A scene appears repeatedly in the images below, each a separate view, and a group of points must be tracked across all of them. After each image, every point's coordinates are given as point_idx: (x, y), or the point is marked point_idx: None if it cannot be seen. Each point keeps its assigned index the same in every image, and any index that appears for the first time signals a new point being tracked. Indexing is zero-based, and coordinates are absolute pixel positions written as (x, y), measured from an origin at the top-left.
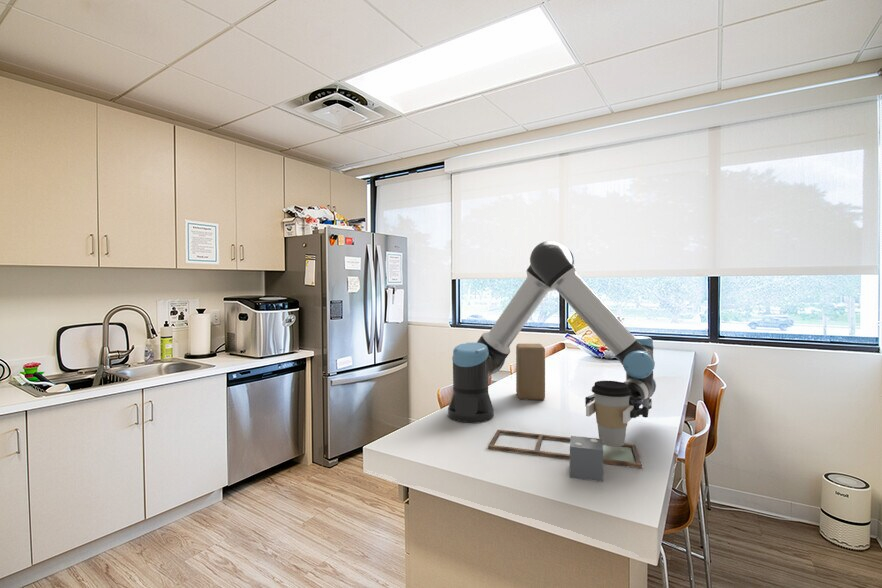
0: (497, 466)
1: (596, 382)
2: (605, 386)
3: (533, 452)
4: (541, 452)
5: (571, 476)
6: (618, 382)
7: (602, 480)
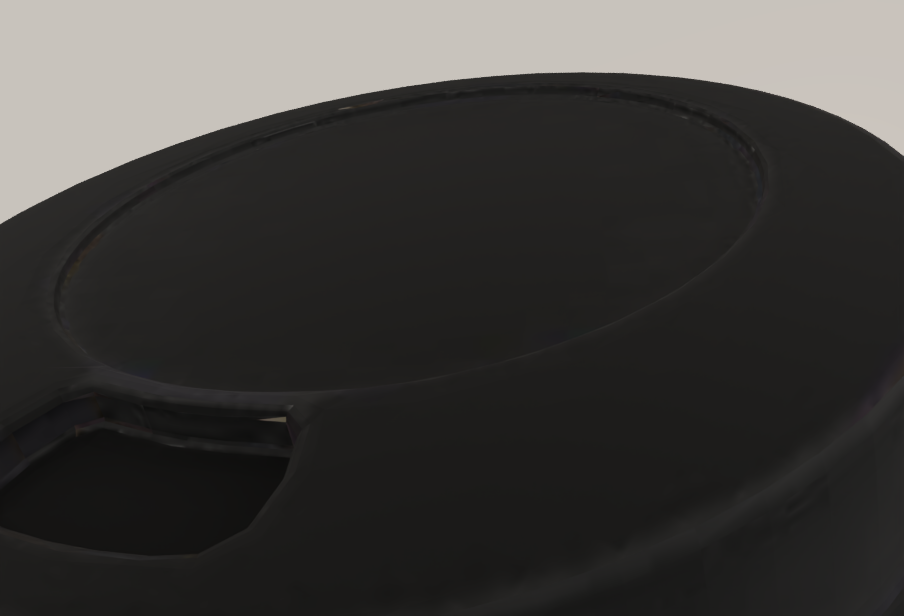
0: None
1: (777, 111)
2: (408, 127)
3: None
4: None
5: None
6: (237, 536)
7: None
